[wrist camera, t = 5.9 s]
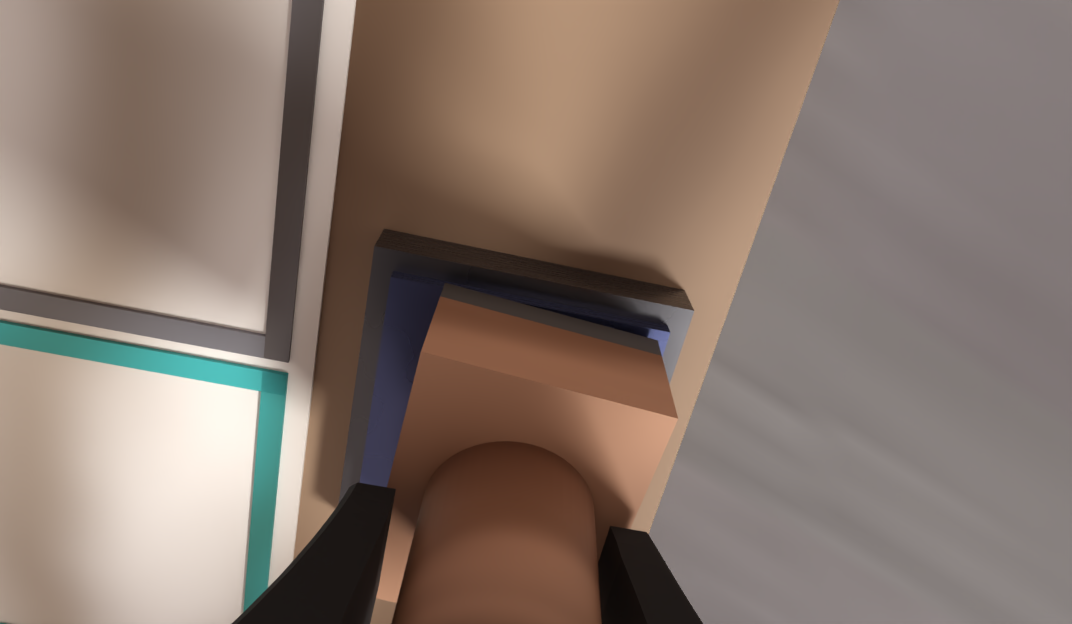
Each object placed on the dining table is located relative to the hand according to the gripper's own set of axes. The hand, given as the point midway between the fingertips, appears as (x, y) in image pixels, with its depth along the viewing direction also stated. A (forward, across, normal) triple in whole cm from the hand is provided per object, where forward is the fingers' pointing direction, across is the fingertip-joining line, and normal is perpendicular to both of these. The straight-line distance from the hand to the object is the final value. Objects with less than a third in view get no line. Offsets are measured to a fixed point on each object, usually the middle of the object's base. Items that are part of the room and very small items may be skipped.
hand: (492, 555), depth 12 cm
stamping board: (+5, +5, 0) cm, 7 cm away
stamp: (+3, 0, -1) cm, 3 cm away
